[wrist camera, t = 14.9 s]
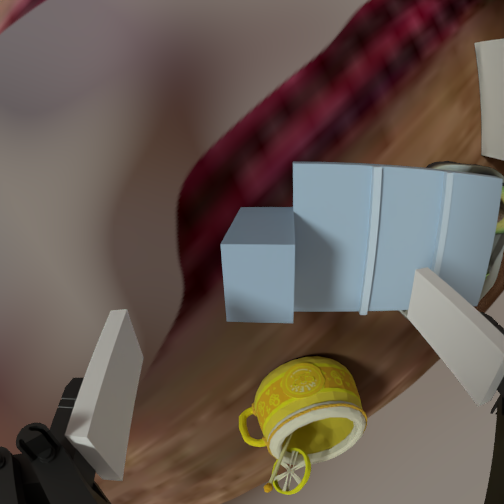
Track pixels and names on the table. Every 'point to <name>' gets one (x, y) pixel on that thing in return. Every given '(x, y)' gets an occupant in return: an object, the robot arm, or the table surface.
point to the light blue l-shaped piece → (359, 240)
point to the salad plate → (500, 244)
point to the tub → (491, 96)
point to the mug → (305, 416)
